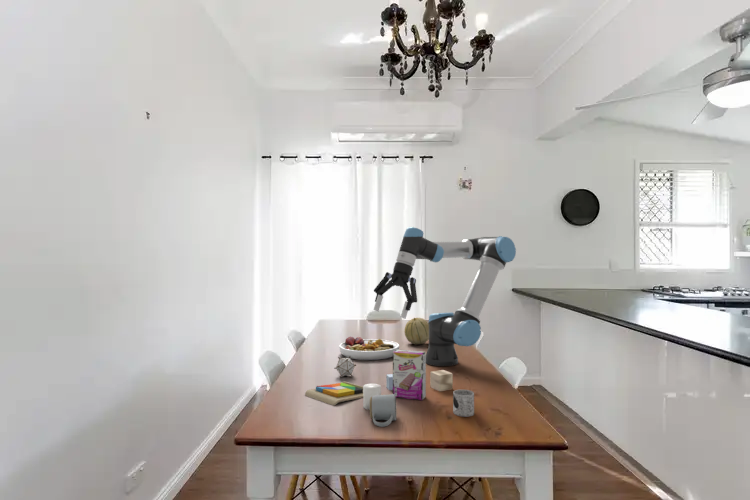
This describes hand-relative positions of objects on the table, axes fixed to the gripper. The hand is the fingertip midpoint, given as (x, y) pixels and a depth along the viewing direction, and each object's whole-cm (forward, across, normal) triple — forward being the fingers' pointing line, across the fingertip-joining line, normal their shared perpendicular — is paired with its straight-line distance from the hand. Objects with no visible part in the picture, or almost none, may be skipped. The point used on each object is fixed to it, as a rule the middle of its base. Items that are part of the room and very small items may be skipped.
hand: (389, 314), depth 191 cm
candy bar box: (+27, +21, -4) cm, 35 cm away
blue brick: (+26, +12, +3) cm, 29 cm away
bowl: (+19, -33, +42) cm, 56 cm away
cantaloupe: (+7, -27, +74) cm, 80 cm away
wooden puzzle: (+35, 0, -14) cm, 37 cm away
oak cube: (+21, +25, +12) cm, 35 cm away
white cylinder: (+33, +17, -18) cm, 41 cm away
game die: (+29, -15, +5) cm, 33 cm away
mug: (+25, +45, -8) cm, 52 cm away
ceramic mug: (+34, +28, -26) cm, 51 cm away
